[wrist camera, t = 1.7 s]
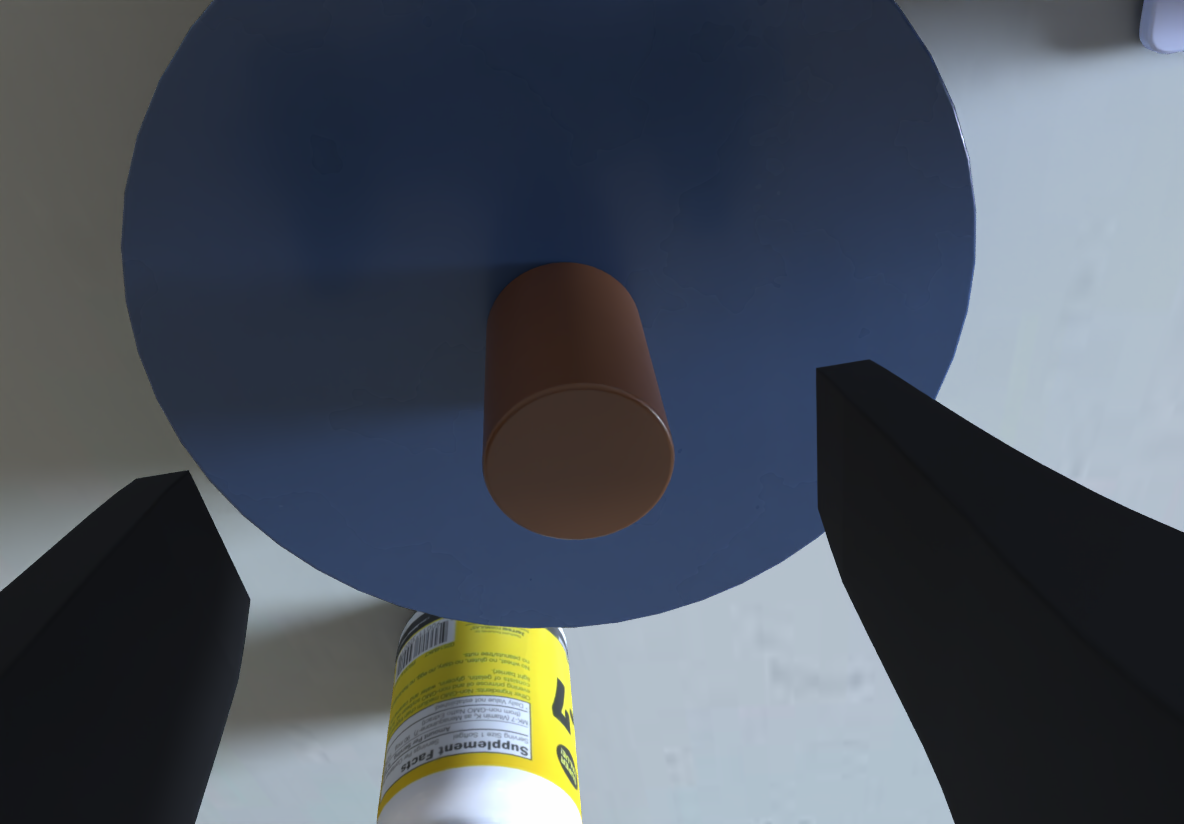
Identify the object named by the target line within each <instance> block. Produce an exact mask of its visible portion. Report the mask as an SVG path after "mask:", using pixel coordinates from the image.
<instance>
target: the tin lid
mask: <svg viewBox="0 0 1184 824" xmlns="http://www.w3.org/2000/svg"><path fill="white" fill-rule="evenodd" d="M975 247H976V206H975V198H974V190H973V183H972V175H971V167H970V160H969V155H968V152H967V148H966V145H965V141H964V138H963V134H962V131H961V127H960V124H959V120H958V117H957V113H956V110H955V106H954V104H953V102H952V99H951V97H950V95H949V93H948V91H947V88H946V86H945V84H944V82H943V80H942V78H941V75H940V73H939V71H938V69H937V67H936V64H935V62H934V60H933V58H932V56H931V54H930V52H929V51H928V49H927V48H926V46H925V45H924V43H923V42H922V40H921V39H920V37H919V36H918V34H917V33H916V31H915V30H914V28H913V27H912V25H911V24H910V22H909V21H908V19H907V18H906V16H905V15H904V13H903V12H902V10H901V9H900V7H899V5H898V4H897V3H896V2H895V1H894V0H213V1H212V3H211V4H210V5H209V6H208V7H207V9H206V10H205V11H204V12H203V13H202V14H201V16H200V17H199V18H198V19H197V20H196V22H195V23H194V24H193V25H192V26H191V28H190V30H189V31H188V33H187V35H186V36H185V38H184V40H183V41H182V43H181V45H180V46H179V48H178V50H177V51H176V53H175V55H174V56H173V58H172V60H171V61H170V63H169V65H168V66H167V68H166V70H165V72H164V73H163V75H162V77H161V78H160V80H159V82H158V85H157V87H156V90H155V92H154V95H153V97H152V100H151V102H150V105H149V107H148V110H147V112H146V115H145V117H144V120H143V122H142V125H141V128H140V130H139V133H138V135H137V139H136V143H135V148H134V152H133V157H132V161H131V166H130V170H129V175H128V179H127V184H126V188H125V193H124V209H123V225H122V240H121V253H122V264H123V275H124V286H125V298H126V304H127V308H128V312H129V316H130V321H131V325H132V329H133V333H134V337H135V341H136V346H137V350H138V353H139V356H140V358H141V361H142V363H143V366H144V369H145V371H146V374H147V376H148V379H149V381H150V384H151V386H152V389H153V391H154V394H155V396H156V399H157V401H158V403H159V404H160V406H161V408H162V410H163V411H164V413H165V415H166V417H167V419H168V420H169V422H170V424H171V426H172V427H173V429H174V431H175V433H176V435H177V436H178V438H179V440H180V442H181V443H182V444H183V446H184V447H185V448H186V450H187V451H188V452H189V454H190V455H191V457H192V458H193V459H194V461H195V462H196V463H197V465H198V466H199V467H200V469H201V470H202V471H203V473H204V474H205V475H206V477H207V478H208V479H209V481H210V482H211V483H212V484H213V485H214V486H215V487H216V488H217V489H218V490H219V491H220V492H221V493H222V494H223V495H224V496H225V497H226V498H227V499H228V500H229V501H230V503H231V504H232V505H233V506H234V507H235V508H236V509H237V510H238V511H239V512H240V513H241V514H242V515H243V516H244V517H246V518H247V519H248V520H249V521H250V522H252V523H253V524H254V525H255V526H256V527H258V528H259V529H260V530H261V531H263V532H264V533H265V534H266V535H267V536H269V537H270V538H271V539H272V540H273V541H275V542H276V543H277V544H278V545H280V546H281V547H283V548H284V549H286V550H288V551H289V552H291V553H292V554H294V555H295V556H297V557H298V558H300V559H301V560H303V561H304V562H306V563H308V564H309V565H311V566H312V567H314V568H315V569H317V570H319V571H321V572H323V573H325V574H327V575H329V576H330V577H332V578H334V579H336V580H338V581H340V582H342V583H344V584H346V585H348V586H350V587H352V588H354V589H356V590H358V591H361V592H364V593H366V594H369V595H371V596H374V597H377V598H379V599H382V600H384V601H387V602H390V603H392V604H395V605H398V606H400V607H404V608H408V609H411V610H415V611H419V612H422V613H426V614H430V615H434V616H437V617H441V618H446V619H452V620H458V621H463V622H469V623H475V624H481V625H488V626H502V627H516V628H530V629H532V628H575V627H583V626H592V625H600V624H609V623H618V622H622V621H627V620H632V619H636V618H641V617H646V616H651V615H655V614H660V613H663V612H667V611H670V610H673V609H676V608H679V607H682V606H686V605H689V604H692V603H695V602H698V601H702V600H704V599H707V598H709V597H711V596H714V595H716V594H718V593H721V592H723V591H726V590H728V589H730V588H733V587H735V586H737V585H740V584H742V583H744V582H746V581H748V580H750V579H751V578H753V577H755V576H757V575H759V574H761V573H763V572H764V571H766V570H768V569H770V568H772V567H774V566H775V565H777V564H779V563H781V562H783V561H784V560H785V559H787V558H788V557H790V556H791V555H793V554H794V553H796V552H797V551H799V550H800V549H802V548H803V547H805V546H806V545H808V544H809V543H811V542H812V541H814V540H815V539H816V538H818V537H819V536H820V535H822V534H823V533H824V532H825V529H824V526H823V523H822V520H821V517H820V514H819V511H818V494H817V414H816V368H819V367H825V366H831V365H837V364H843V363H849V362H855V361H862V360H868V359H870V360H872V361H874V362H875V363H877V364H879V365H881V366H882V367H884V368H885V369H887V370H889V371H890V372H892V373H893V374H895V375H897V376H898V377H900V378H901V379H903V380H904V381H906V382H908V383H909V384H911V385H912V386H914V387H915V388H917V389H918V390H920V391H921V392H923V393H925V394H926V395H928V396H929V397H931V398H932V399H934V400H935V399H936V397H937V394H938V392H939V390H940V387H941V385H942V383H943V381H944V378H945V376H946V374H947V372H948V369H949V367H950V365H951V363H952V360H953V358H954V355H955V352H956V348H957V345H958V342H959V338H960V335H961V332H962V328H963V325H964V321H965V318H966V315H967V311H968V305H969V299H970V293H971V286H972V280H973V273H974V267H975Z"/></svg>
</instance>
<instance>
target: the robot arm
mask: <svg viewBox="0 0 1184 824" xmlns="http://www.w3.org/2000/svg"><path fill="white" fill-rule="evenodd" d="M1139 38H1140V40H1141V42H1142V44H1143V46H1145V47H1146V48H1148V49H1150V50H1152V51H1154V52H1157V53H1160V54H1171V53H1177V52H1183V51H1184V0H1144V3H1143V9H1142V15H1141V21H1140V27H1139ZM816 414H817V494H818V511H819V514H820V517H821V520H822V523H823V526H824V529H825V532H826V535H827V538H828V541H829V545H830V548H831V551H832V553H833V556H834V559H835V562H836V565H837V568H838V571H839V573H840V576H841V579H842V582H843V584H844V586H845V588H846V590H847V592H848V595H849V597H850V599H851V601H852V603H853V605H854V607H855V609H856V611H857V613H858V615H859V617H860V619H861V621H862V623H863V625H864V628H865V630H866V632H867V634H868V636H869V638H870V640H871V642H872V644H873V646H874V648H875V650H876V652H877V654H878V656H879V658H880V660H881V662H882V664H883V666H884V668H885V670H886V672H887V674H888V676H889V678H890V680H891V682H892V684H893V686H894V688H895V690H896V692H897V694H898V696H899V698H900V700H901V702H902V704H903V706H904V708H905V710H906V712H907V714H908V717H909V719H910V721H911V723H912V725H913V727H914V729H915V731H916V733H917V735H918V737H919V739H920V741H921V743H922V745H923V747H924V749H925V751H926V754H927V756H928V758H929V760H930V763H931V765H932V767H933V769H934V772H935V774H936V776H937V778H938V781H939V783H940V785H941V788H942V790H943V793H944V796H945V798H946V801H947V804H948V806H949V809H950V812H951V815H952V817H953V820H954V823H955V824H1184V532H1181V531H1179V530H1177V529H1174V528H1172V527H1170V526H1168V525H1165V524H1163V523H1161V522H1158V521H1156V520H1154V519H1152V518H1149V517H1147V516H1145V515H1142V514H1140V513H1138V512H1136V511H1133V510H1131V509H1129V508H1127V507H1125V506H1122V505H1120V504H1118V503H1116V502H1114V501H1112V500H1110V499H1108V498H1106V497H1104V496H1102V495H1100V494H1098V493H1096V492H1094V491H1092V490H1090V489H1088V488H1086V487H1084V486H1082V485H1080V484H1078V483H1076V482H1075V481H1073V480H1071V479H1069V478H1067V477H1065V476H1063V475H1061V474H1059V473H1057V472H1056V471H1054V470H1052V469H1050V468H1048V467H1046V466H1044V465H1042V464H1040V463H1039V462H1037V461H1035V460H1033V459H1032V458H1030V457H1028V456H1026V455H1024V454H1023V453H1021V452H1019V451H1017V450H1016V449H1014V448H1012V447H1010V446H1009V445H1007V444H1005V443H1004V442H1002V441H1000V440H999V439H997V438H995V437H993V436H992V435H990V434H988V433H987V432H985V431H984V430H982V429H980V428H979V427H977V426H975V425H974V424H972V423H970V422H969V421H967V420H966V419H964V418H962V417H961V416H959V415H958V414H956V413H954V412H953V411H951V410H950V409H948V408H946V407H945V406H943V405H942V404H940V403H939V402H937V401H936V400H934V399H932V398H931V397H929V396H928V395H926V394H925V393H923V392H921V391H920V390H918V389H917V388H915V387H914V386H912V385H911V384H909V383H908V382H906V381H904V380H903V379H901V378H900V377H898V376H897V375H895V374H893V373H892V372H890V371H889V370H887V369H885V368H884V367H882V366H881V365H879V364H877V363H875V362H874V361H872V360H870V359H868V360H862V361H855V362H849V363H843V364H837V365H831V366H825V367H819V368H816ZM249 607H250V598H249V596H248V594H247V592H246V589H245V587H244V585H243V583H242V581H241V579H240V577H239V575H238V573H237V570H236V568H235V566H234V564H233V562H232V560H231V558H230V556H229V554H228V552H227V549H226V547H225V545H224V543H223V541H222V539H221V537H220V535H219V533H218V531H217V528H216V526H215V524H214V522H213V520H212V518H211V516H210V514H209V512H208V510H207V507H206V505H205V503H204V501H203V499H202V497H201V495H200V493H199V491H198V489H197V486H196V484H195V482H194V480H193V478H192V476H191V474H190V472H189V470H187V471H181V472H175V473H168V474H162V475H156V476H150V477H144V478H138V479H135V480H134V481H133V482H131V483H130V484H128V485H127V486H126V487H124V488H123V489H121V490H120V491H119V492H117V493H116V494H115V495H113V496H112V497H111V498H110V499H108V500H107V501H106V502H105V503H104V504H102V505H101V506H100V507H99V508H97V509H96V510H95V511H94V512H93V513H91V514H90V515H89V516H88V517H87V518H85V519H84V520H83V521H82V522H81V523H80V524H78V525H77V526H76V527H75V528H74V529H73V530H71V531H70V532H69V533H68V534H67V535H66V536H65V537H63V538H62V539H61V540H60V541H59V542H58V543H56V544H55V545H54V546H53V547H52V548H51V549H50V550H48V551H47V552H46V553H45V554H44V555H43V556H41V557H40V558H39V559H38V560H37V561H36V562H34V563H33V564H32V565H31V566H30V567H29V568H27V569H26V570H25V571H24V572H23V573H22V574H21V575H19V576H18V577H17V578H16V579H15V580H14V581H12V582H11V583H10V584H9V585H8V586H7V587H5V588H4V589H3V590H2V591H1V592H0V824H195V822H196V818H197V815H198V812H199V809H200V805H201V802H202V799H203V796H204V792H205V789H206V786H207V783H208V779H209V776H210V773H211V770H212V767H213V763H214V760H215V757H216V754H217V750H218V747H219V744H220V741H221V737H222V734H223V730H224V727H225V724H226V720H227V717H228V714H229V710H230V707H231V704H232V700H233V697H234V693H235V690H236V686H237V683H238V679H239V673H240V668H241V662H242V656H243V650H244V644H245V637H246V629H247V622H248V614H249Z"/></svg>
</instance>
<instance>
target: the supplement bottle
mask: <svg viewBox="0 0 1184 824" xmlns="http://www.w3.org/2000/svg"><path fill="white" fill-rule="evenodd" d="M377 824H582V816H581V805H580V792H579V782H578V771H577V757H576V747H575V731H574V722H573V711H572V697H571V685H570V674H569V662H568V652H567V644H566V639H565V635H564V633H563V630H562V628H532V629H530V628H516V627H502V626H488V625H481V624H475V623H469V622H463V621H458V620H452V619H446V618H441V617H437V616H434V615H430V614H426V613H422V612H419V611H417V612H416V613H415V614H414V615H413V617H412V618H411V619H410V620H409V621H408V623H407V624H406V626H405V628H404V630H403V632H402V634H401V637H400V641H399V645H398V651H397V656H396V667H395V676H394V685H393V693H392V702H391V710H390V720H389V727H388V734H387V743H386V751H385V759H384V767H383V775H382V783H381V791H380V798H379V806H378V814H377Z"/></svg>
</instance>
